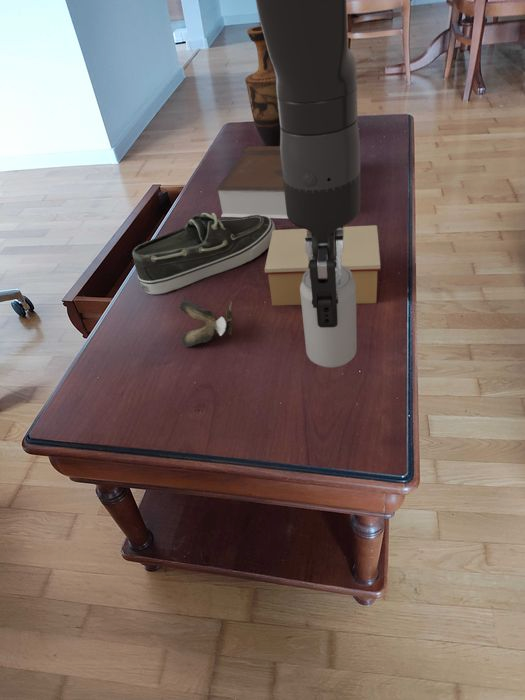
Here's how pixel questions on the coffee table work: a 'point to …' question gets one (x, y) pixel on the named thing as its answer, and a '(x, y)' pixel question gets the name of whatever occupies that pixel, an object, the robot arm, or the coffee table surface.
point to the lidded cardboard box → (292, 263)
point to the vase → (264, 92)
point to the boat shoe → (200, 250)
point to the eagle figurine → (211, 324)
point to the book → (254, 185)
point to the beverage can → (331, 342)
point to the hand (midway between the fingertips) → (328, 306)
